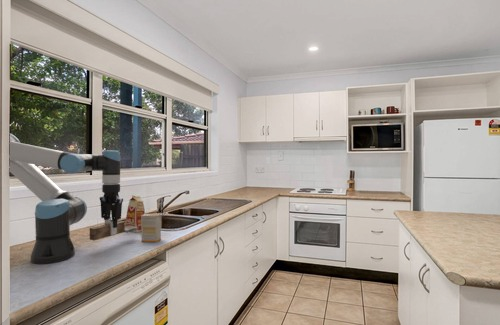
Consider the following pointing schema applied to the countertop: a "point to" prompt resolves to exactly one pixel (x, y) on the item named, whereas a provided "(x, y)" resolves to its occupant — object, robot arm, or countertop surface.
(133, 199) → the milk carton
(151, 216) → the supplement box
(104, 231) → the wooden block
